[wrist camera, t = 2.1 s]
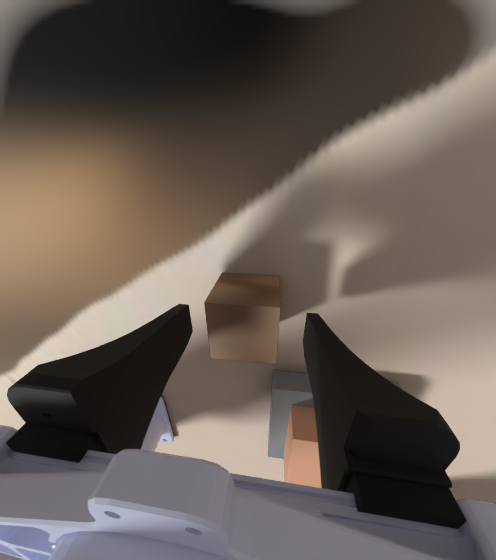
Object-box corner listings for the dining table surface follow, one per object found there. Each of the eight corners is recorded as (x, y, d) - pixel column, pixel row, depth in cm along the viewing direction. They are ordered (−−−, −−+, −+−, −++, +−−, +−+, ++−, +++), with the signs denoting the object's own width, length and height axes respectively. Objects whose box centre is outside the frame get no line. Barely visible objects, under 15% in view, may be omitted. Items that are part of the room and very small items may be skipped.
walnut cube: (225, 319, 16) (210, 357, 13) (222, 272, 15) (204, 302, 11) (276, 322, 16) (276, 364, 12) (279, 275, 14) (280, 307, 11)
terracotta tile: (283, 451, 20) (284, 485, 18) (290, 404, 17) (292, 438, 15) (360, 463, 19) (371, 500, 17) (382, 416, 16) (399, 454, 14)
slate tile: (268, 429, 23) (267, 456, 21) (273, 363, 19) (272, 388, 16) (364, 442, 22) (374, 472, 20) (393, 375, 17) (410, 404, 15)
